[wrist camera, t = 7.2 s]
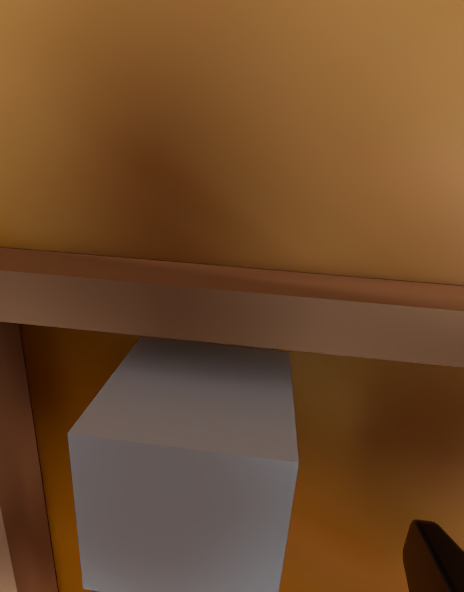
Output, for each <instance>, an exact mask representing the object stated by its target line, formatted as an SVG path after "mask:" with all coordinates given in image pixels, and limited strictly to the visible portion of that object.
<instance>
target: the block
mask: <svg viewBox="0 0 464 592" xmlns="http://www.w3.org/2000/svg"><path fill="white" fill-rule="evenodd" d="M67 435H68V444H69V454H70V464H71V474H72V484H73V494H74V503H75V513H76V523H77V533H78V543H79V553H80V562H81V572H82V582H83V589H87V590H93V591H99V592H279V586H280V579H281V573H282V567H283V560H284V554H285V548H286V541H287V535H288V529H289V522H290V516H291V510H292V503H293V497H294V491H295V484H296V478H297V472H298V465H299V458H298V447H297V435H296V423H295V412H294V400H293V389H292V377H291V365H290V354H289V352H286V351H276V350H267V349H257V348H248V347H239V346H229V345H220V344H210V343H201V342H191V341H182V340H172V339H163V338H153V337H144V336H141V337H140V338H139V340H138V341H137V342H136V344H135V345H134V346H133V348H132V349H131V350H130V352H129V353H128V354H127V356H126V357H125V358H124V360H123V361H122V362H121V363H120V365H119V366H118V367H117V369H116V370H115V371H114V373H113V374H112V375H111V377H110V378H109V379H108V381H107V382H106V383H105V385H104V386H103V387H102V388H101V390H100V391H99V392H98V394H97V395H96V396H95V398H94V399H93V400H92V402H91V403H90V404H89V406H88V407H87V408H86V410H85V411H84V412H83V413H82V415H81V416H80V417H79V419H78V420H77V421H76V423H75V424H74V425H73V427H72V428H71V429H70V431H69V432H68V433H67Z"/></svg>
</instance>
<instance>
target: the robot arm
mask: <svg viewBox="0 0 464 592" xmlns="http://www.w3.org/2000/svg"><path fill="white" fill-rule="evenodd" d="M403 562H404V568H405V573H406V578H407V583H408V588H409V592H464V551H463V550H462V549H461V548H460V547H459V546H458V545H457V544H456V543H455V542H454V541H453V540H452V539H451V538H450V536H449V535H448V534H447V533H446V532H445V531H444V530H443V529H442V528H441V527H440V526H439V525H438V524H436V523H435V522H432V521H425V520H417V519H416V520H413V521H412V522H411V524H410V527H409V531H408V534H407V537H406V541H405V544H404V548H403Z"/></svg>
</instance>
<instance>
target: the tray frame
mask: <svg viewBox="0 0 464 592" xmlns="http://www.w3.org/2000/svg"><path fill="white" fill-rule="evenodd" d="M19 324H29V325H39V326H49V327H59V328H69V329H79V330H89V331H100V332H110V333H120V334H130V335H140V336H150V337H160V338H170V339H180V340H190V341H200V342H210V343H220V344H230V345H240V346H250V347H260V348H270V349H280V350H290V351H300V352H310V353H320V354H330V355H340V356H351V357H361V358H371V359H381V360H391V361H401V362H411V363H421V364H431V365H441V366H451V367H461V368H464V286H456V285H445V284H433V283H421V282H409V281H397V280H385V279H373V278H361V277H349V276H337V275H325V274H313V273H301V272H289V271H277V270H265V269H253V268H241V267H229V266H217V265H205V264H194V263H182V262H170V261H158V260H146V259H134V258H122V257H110V256H98V255H86V254H74V253H62V252H50V251H38V250H26V249H14V248H2V247H0V592H58V588H57V581H56V574H55V568H54V561H53V554H52V547H51V540H50V533H49V526H48V520H47V513H46V506H45V499H44V492H43V485H42V478H41V472H40V465H39V458H38V451H37V444H36V437H35V430H34V424H33V417H32V410H31V403H30V396H29V389H28V382H27V375H26V369H25V362H24V355H23V348H22V341H21V334H20V327H19Z"/></svg>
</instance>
